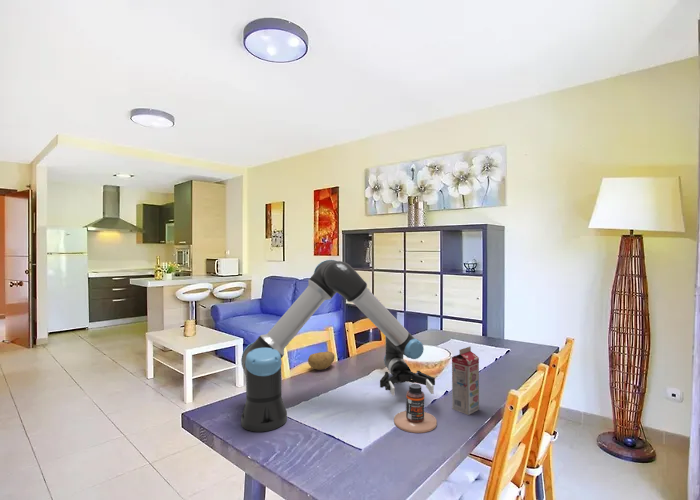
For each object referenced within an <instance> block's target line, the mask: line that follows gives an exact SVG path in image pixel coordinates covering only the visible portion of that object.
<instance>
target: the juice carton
mask: <svg viewBox="0 0 700 500" xmlns="http://www.w3.org/2000/svg"><path fill="white" fill-rule="evenodd" d="M471 348H472V347H471V346H468V347H467V346H466V347H464V348H461V349H459V353H458V354H457V355H454V356H452V357H451V389H452V390H451V397H452V401H451V402H452V403H451V404H452V406H451V408H452V410H453V411H456V412H460V413H462V414H465V415H468V416H470V415H471V414H474V413H475V412H477V411H479V410H480V364H479V363H480V357H479V356H478V355H477V354H476V353H474V352H473V351H472V349H471Z"/></svg>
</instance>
